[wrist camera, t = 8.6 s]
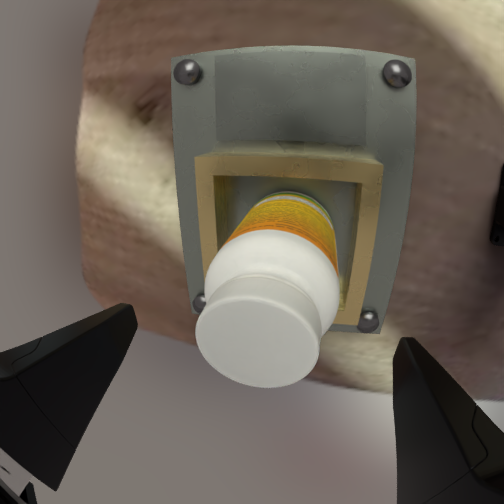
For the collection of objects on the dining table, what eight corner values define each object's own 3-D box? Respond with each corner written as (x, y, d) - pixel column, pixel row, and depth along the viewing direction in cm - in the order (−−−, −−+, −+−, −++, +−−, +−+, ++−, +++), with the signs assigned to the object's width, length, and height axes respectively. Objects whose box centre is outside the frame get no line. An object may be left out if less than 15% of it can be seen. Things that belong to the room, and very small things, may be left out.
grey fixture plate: (401, 67, 14) (426, 51, 9) (374, 309, 21) (382, 353, 17) (191, 65, 17) (154, 52, 12) (205, 292, 24) (181, 329, 20)
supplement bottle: (238, 193, 17) (152, 274, 8) (332, 186, 15) (345, 271, 7) (251, 274, 19) (197, 392, 10) (335, 272, 18) (337, 403, 9)
